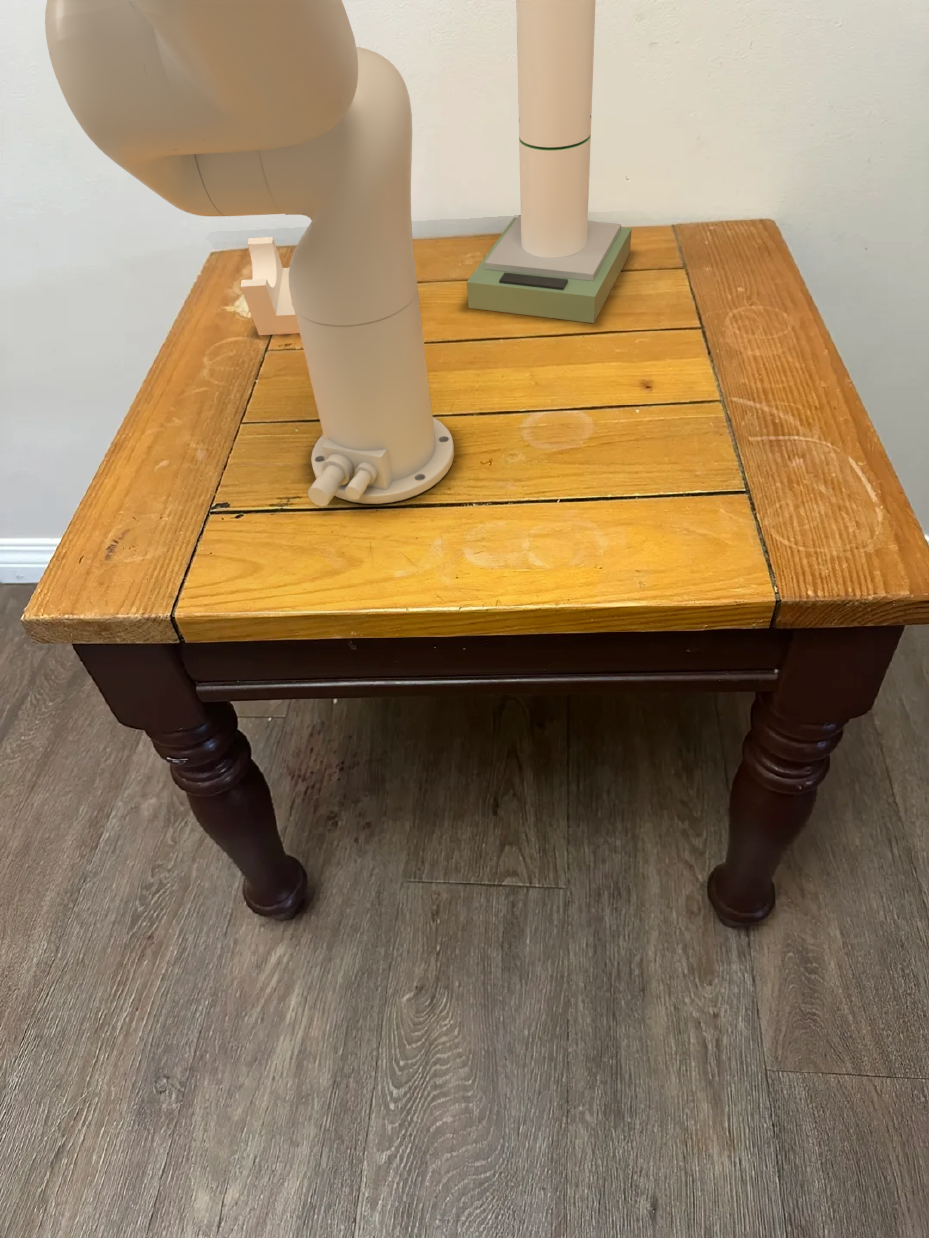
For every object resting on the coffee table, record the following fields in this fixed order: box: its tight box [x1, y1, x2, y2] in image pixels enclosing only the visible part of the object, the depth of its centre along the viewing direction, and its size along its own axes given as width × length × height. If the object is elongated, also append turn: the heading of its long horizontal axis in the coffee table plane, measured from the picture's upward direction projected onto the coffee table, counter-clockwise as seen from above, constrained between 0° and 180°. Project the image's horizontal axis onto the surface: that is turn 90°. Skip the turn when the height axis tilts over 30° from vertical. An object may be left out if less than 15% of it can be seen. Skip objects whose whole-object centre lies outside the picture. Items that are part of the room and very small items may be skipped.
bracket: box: [240, 236, 300, 336], centre depth 92 cm, size 13×7×8 cm, turn 89°
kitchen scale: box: [466, 214, 633, 324], centre depth 95 cm, size 16×14×4 cm
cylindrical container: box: [515, 0, 596, 258], centre depth 85 cm, size 7×7×25 cm
